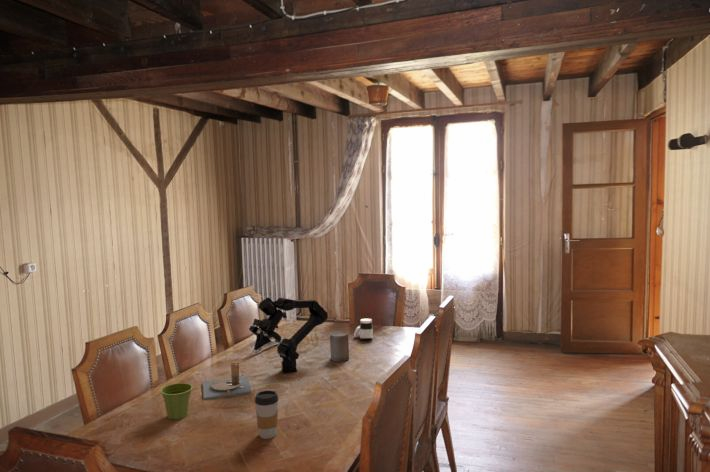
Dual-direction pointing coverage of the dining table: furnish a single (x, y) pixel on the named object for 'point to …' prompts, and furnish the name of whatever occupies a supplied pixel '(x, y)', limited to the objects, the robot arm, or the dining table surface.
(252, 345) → the wrench
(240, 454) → the dining table surface
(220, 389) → the dial
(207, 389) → the dial board
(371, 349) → the dining table surface
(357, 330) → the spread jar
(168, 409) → the plant pot
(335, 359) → the pillar candle
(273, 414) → the coffee cup
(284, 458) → the dining table surface
